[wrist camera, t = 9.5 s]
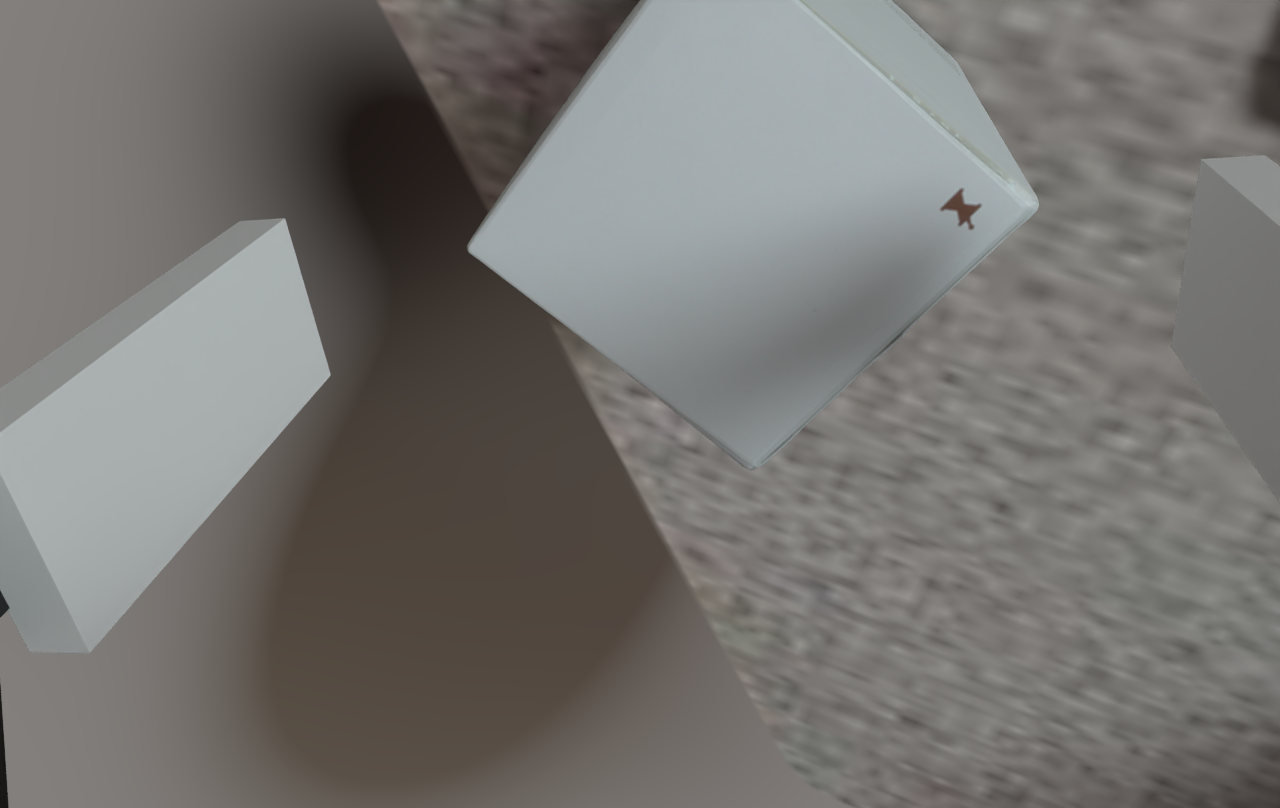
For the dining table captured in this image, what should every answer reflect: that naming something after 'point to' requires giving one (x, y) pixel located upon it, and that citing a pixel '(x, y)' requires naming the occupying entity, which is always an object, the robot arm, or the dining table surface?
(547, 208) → the supplement box
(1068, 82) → the dining table surface
